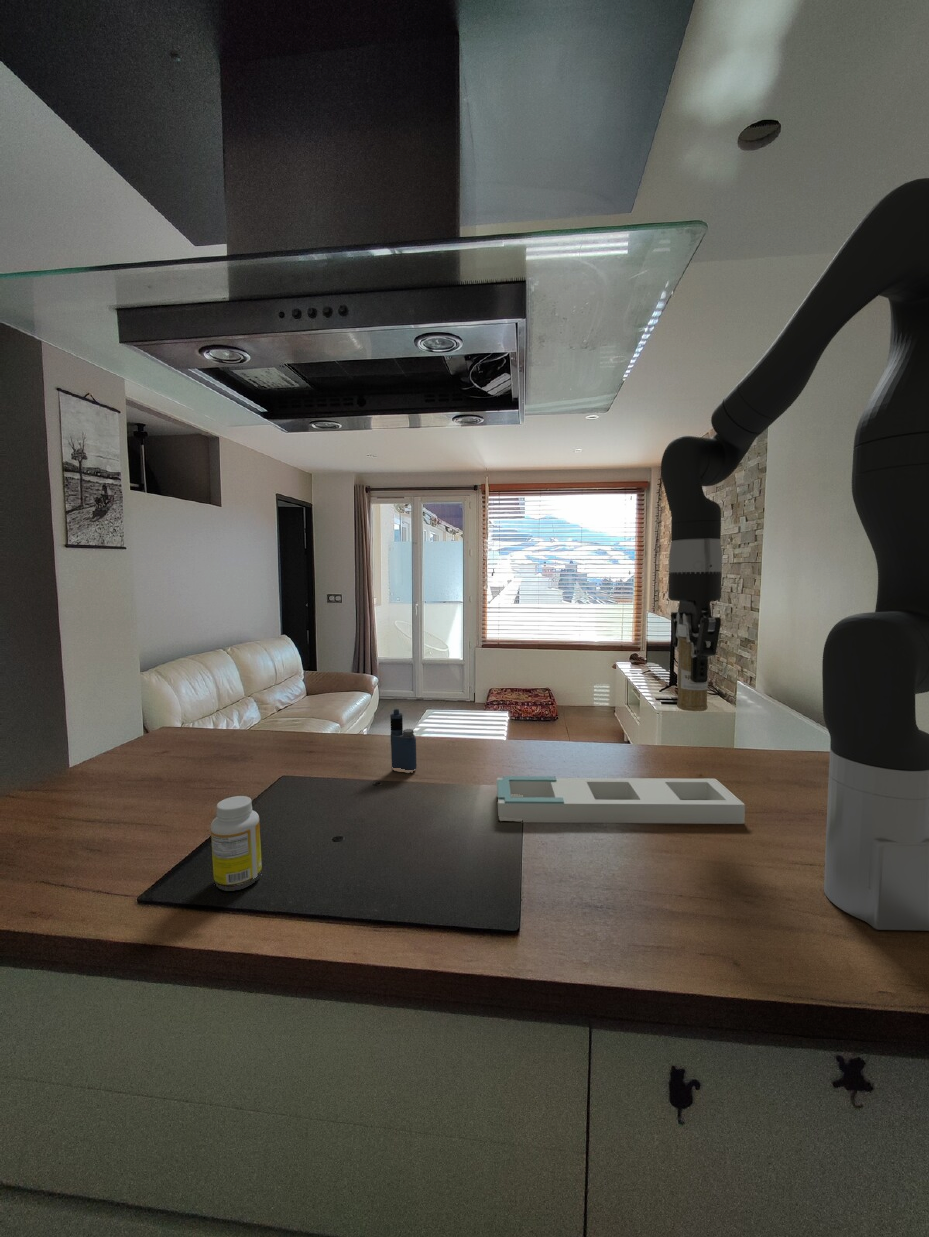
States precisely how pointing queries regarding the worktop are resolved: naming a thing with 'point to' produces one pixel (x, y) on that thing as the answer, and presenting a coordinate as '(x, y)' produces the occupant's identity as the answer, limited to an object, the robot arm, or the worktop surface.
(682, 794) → the rail
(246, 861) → the supplement bottle
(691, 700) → the sprinkles bottle
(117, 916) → the worktop surface
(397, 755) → the vaping device
